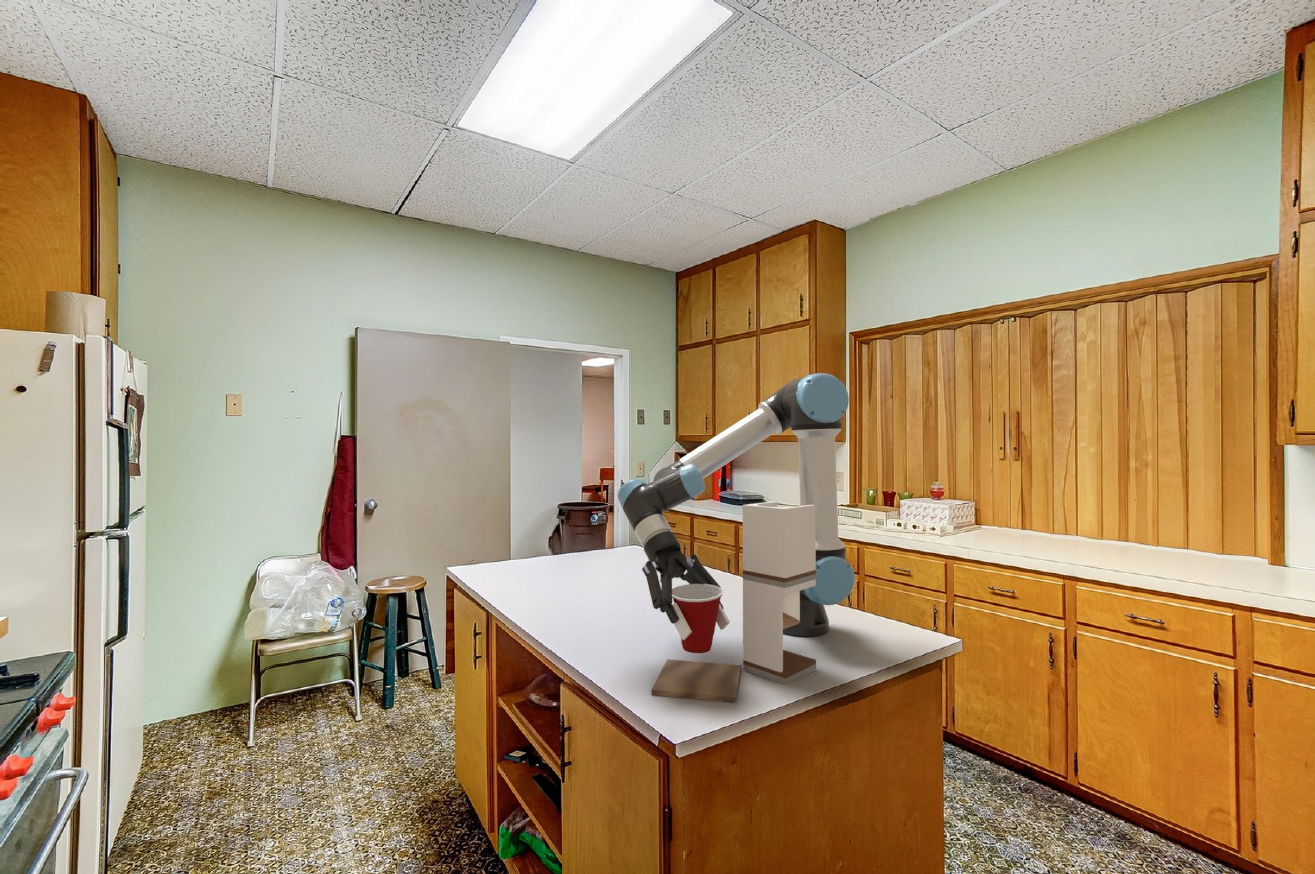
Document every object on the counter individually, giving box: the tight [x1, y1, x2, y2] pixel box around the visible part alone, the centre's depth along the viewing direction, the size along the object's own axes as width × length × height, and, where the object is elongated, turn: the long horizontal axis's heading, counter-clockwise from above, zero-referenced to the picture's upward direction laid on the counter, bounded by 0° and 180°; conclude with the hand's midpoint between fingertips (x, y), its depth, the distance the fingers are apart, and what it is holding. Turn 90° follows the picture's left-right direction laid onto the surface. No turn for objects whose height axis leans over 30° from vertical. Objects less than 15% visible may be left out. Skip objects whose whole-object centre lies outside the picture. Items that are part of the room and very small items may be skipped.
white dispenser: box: [742, 501, 817, 685], centre depth 123 cm, size 11×11×35 cm
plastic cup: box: [672, 583, 724, 655], centre depth 117 cm, size 11×11×12 cm
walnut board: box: [650, 658, 742, 703], centre depth 117 cm, size 16×16×1 cm
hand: (706, 630), depth 114 cm, fingers closed on plastic cup, 10 cm apart
